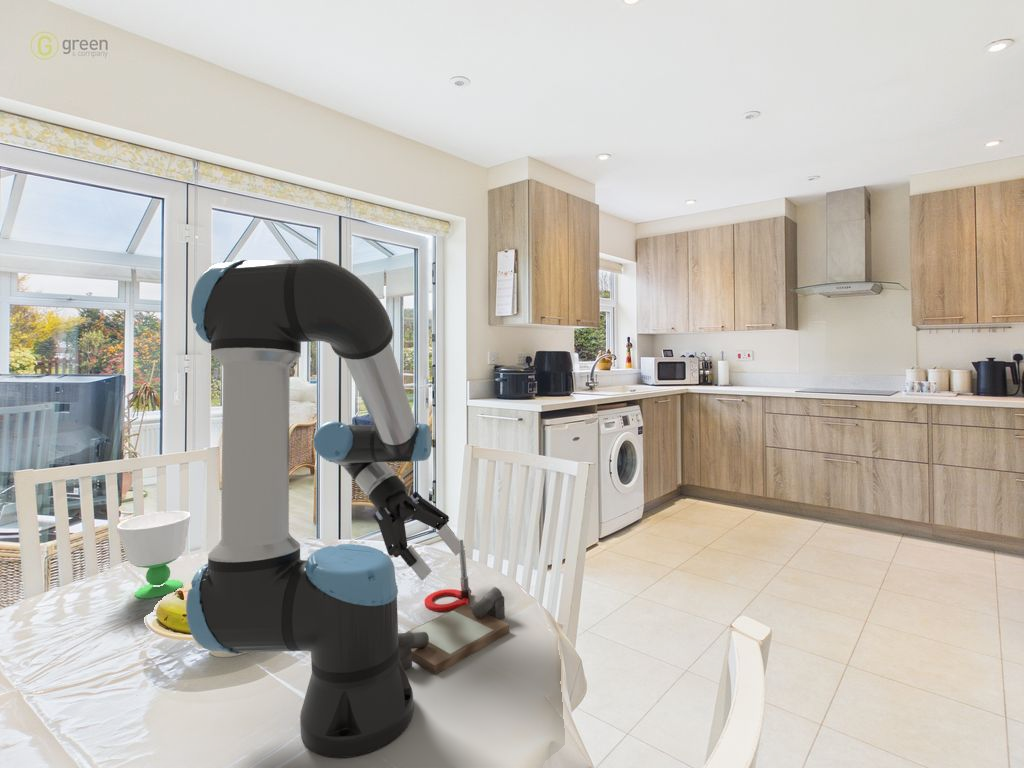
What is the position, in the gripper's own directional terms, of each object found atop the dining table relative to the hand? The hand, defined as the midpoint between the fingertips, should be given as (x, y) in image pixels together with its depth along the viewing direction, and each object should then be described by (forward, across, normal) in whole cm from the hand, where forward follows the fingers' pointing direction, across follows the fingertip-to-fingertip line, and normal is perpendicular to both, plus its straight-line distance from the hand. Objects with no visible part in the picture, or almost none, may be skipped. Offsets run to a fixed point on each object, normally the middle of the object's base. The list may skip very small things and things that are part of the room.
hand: (444, 563), depth 111 cm
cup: (-39, +18, -50) cm, 66 cm away
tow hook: (+6, +1, -5) cm, 8 cm away
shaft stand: (+12, +14, +1) cm, 18 cm away
